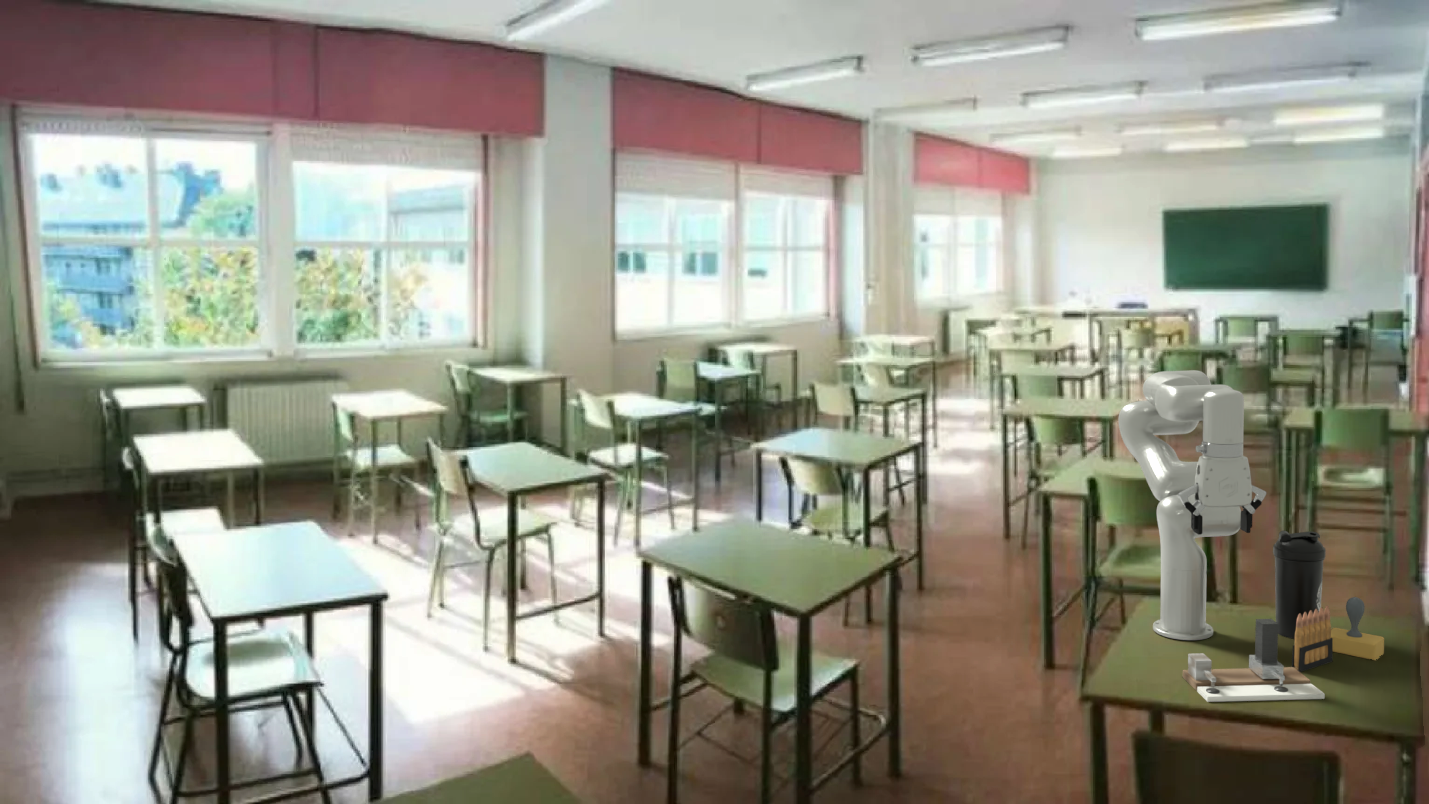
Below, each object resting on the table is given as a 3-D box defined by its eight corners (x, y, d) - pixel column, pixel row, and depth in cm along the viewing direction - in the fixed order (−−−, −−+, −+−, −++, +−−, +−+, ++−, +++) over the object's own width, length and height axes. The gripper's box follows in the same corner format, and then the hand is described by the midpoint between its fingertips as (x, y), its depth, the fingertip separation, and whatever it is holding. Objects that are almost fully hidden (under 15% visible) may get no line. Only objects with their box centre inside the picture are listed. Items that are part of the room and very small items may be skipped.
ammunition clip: (1299, 672, 223) (1301, 615, 221) (1291, 669, 224) (1292, 613, 223) (1332, 661, 228) (1334, 605, 226) (1324, 658, 229) (1325, 603, 228)
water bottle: (1326, 642, 238) (1329, 539, 235) (1274, 639, 242) (1276, 537, 239) (1319, 627, 247) (1321, 528, 244) (1268, 624, 251) (1270, 526, 248)
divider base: (1182, 677, 223) (1182, 651, 222) (1293, 674, 222) (1293, 648, 221) (1203, 697, 212) (1203, 670, 212) (1319, 694, 211) (1319, 667, 211)
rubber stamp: (1384, 653, 231) (1386, 598, 229) (1375, 661, 227) (1377, 605, 225) (1332, 643, 238) (1334, 589, 236) (1323, 650, 234) (1324, 596, 232)
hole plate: (1197, 691, 215) (1197, 685, 215) (1311, 688, 214) (1311, 682, 214) (1207, 701, 210) (1207, 695, 210) (1324, 698, 209) (1324, 692, 209)
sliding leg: (1248, 667, 221) (1249, 616, 220) (1269, 667, 221) (1270, 616, 220) (1271, 687, 212) (1273, 633, 210) (1292, 686, 211) (1294, 633, 210)
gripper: (1186, 455, 220) (1185, 538, 222) (1274, 452, 219) (1272, 535, 221) (1172, 448, 227) (1171, 529, 229) (1257, 445, 226) (1256, 526, 228)
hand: (1221, 532), depth 225 cm, fingers open, 9 cm apart
